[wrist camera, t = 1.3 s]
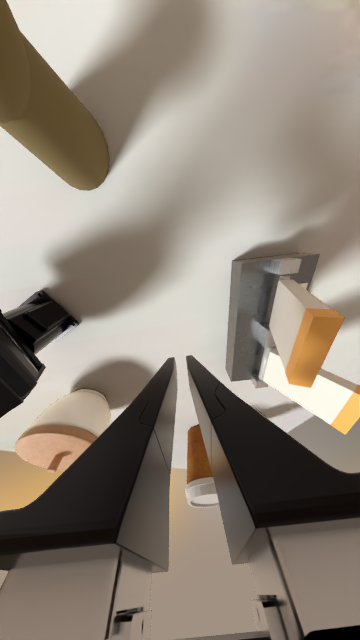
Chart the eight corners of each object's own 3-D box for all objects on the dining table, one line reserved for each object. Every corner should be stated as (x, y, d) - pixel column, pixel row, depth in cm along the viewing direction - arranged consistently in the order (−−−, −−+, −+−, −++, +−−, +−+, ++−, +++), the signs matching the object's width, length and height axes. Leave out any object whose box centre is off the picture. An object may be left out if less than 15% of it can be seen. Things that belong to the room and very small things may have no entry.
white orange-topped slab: (256, 378, 24) (344, 435, 16) (262, 346, 21) (374, 399, 13) (261, 374, 25) (347, 427, 17) (268, 342, 21) (377, 390, 14)
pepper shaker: (108, 114, 13) (-82, -280, 3) (109, 197, 16) (5, 118, 6) (34, 89, 12) (-515, -535, 2) (48, 181, 15) (-188, 59, 5)
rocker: (266, 324, 20) (288, 386, 12) (276, 275, 17) (315, 311, 8) (278, 324, 19) (309, 390, 11) (291, 274, 16) (347, 312, 8)
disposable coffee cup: (189, 419, 36) (196, 491, 25) (222, 424, 38) (242, 494, 27) (177, 438, 40) (178, 507, 29) (208, 441, 42) (220, 508, 31)
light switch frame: (225, 368, 28) (235, 390, 24) (232, 260, 19) (249, 265, 15) (270, 363, 28) (288, 384, 24) (299, 252, 19) (335, 255, 15)
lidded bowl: (113, 378, 28) (83, 448, 19) (123, 415, 34) (104, 484, 24) (47, 380, 28) (-22, 453, 18) (68, 417, 33) (25, 488, 24)
